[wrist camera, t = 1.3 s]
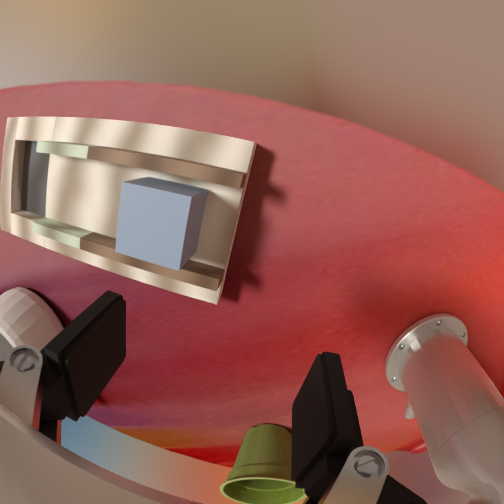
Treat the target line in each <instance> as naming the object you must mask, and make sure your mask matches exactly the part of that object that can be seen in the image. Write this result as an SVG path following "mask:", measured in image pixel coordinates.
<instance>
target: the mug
mask: <svg viewBox="0 0 504 504" xmlns="http://www.w3.org/2000/svg"><path fill="white" fill-rule="evenodd" d="M63 329H64V327H63V326H62V324H61V322H60V320H59V318H58V317H57V316H56V314H55V313H54V311H53V310H52V309H51V308H50V306H49V305H48V304H47V303H46V302H45V301H44V300H43V299H42V298H40V297H39V296H38V295H37V294H35V293H33V292H31V291H30V290H28V289H26V288H20V287H17V288H14V289H11V290H8V291H6V292H5V293H3V294H2V295H1V296H0V361H5V358H6V356H7V354H8V352H9V351H10V350H12V349H13V348H15V347H17V346H21V345H29V346H33V347H35V348H37V349H38V350H39V351H40V350H42V349H43V348H44V347H45V346H46V345H47V344H48V343H49V342H50V341H51V340H52V339H53V338H54V337H55V336H57V335H58V334H59V333H60V332H61V331H62V330H63Z"/></svg>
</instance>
